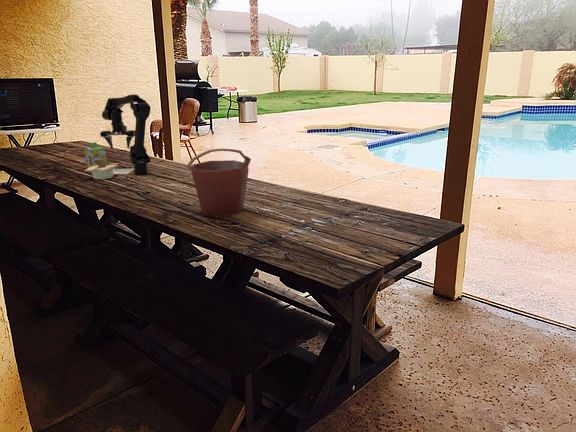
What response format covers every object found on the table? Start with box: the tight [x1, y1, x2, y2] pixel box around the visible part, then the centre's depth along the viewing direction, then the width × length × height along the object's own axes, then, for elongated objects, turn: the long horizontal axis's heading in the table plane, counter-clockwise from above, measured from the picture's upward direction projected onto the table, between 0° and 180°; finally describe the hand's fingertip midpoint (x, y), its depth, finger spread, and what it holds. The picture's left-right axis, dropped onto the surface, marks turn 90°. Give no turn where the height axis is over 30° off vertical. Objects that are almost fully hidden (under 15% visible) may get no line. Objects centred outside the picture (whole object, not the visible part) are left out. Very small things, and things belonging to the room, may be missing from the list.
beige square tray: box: [84, 159, 119, 172], centre depth 258 cm, size 13×13×5 cm
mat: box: [113, 167, 135, 175], centre depth 274 cm, size 15×15×1 cm
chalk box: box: [83, 141, 108, 169], centre depth 286 cm, size 9×9×15 cm
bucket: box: [187, 148, 252, 218], centre depth 191 cm, size 24×22×25 cm
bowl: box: [91, 169, 114, 180], centre depth 259 cm, size 10×10×5 cm
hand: (120, 148), depth 274 cm, fingers open, 9 cm apart
